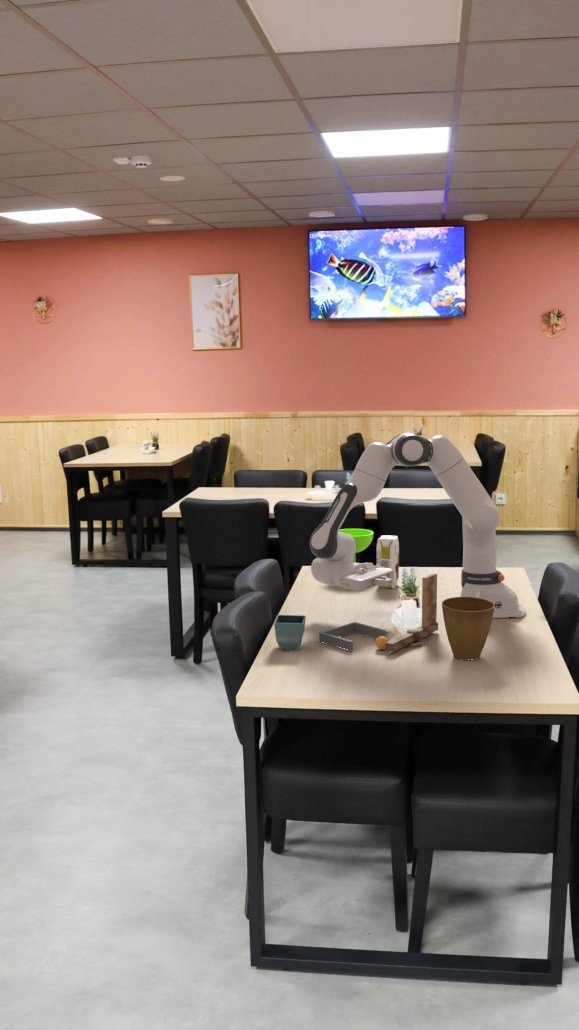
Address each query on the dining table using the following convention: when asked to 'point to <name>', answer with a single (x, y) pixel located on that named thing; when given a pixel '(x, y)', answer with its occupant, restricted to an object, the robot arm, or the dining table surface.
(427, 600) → the lever
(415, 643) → the pivot base
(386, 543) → the juice carton
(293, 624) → the flower pot
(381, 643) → the ball
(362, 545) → the wineglass
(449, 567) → the dining table surface
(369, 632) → the corral
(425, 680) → the dining table surface
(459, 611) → the plant pot
